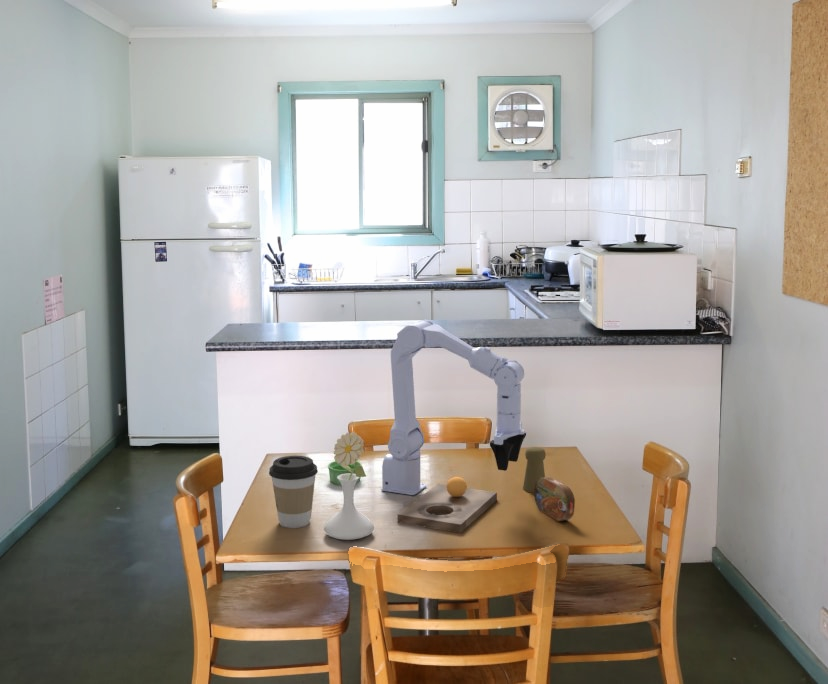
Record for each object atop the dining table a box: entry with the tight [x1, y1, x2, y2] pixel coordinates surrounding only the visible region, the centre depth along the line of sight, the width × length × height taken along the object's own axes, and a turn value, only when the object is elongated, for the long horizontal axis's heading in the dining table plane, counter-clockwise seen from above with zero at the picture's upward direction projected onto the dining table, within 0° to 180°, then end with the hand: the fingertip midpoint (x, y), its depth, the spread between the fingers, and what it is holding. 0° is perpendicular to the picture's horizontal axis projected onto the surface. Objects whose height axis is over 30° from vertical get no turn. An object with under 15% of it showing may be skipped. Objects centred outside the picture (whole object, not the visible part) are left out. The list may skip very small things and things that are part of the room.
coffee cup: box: [268, 455, 319, 529], centre depth 233 cm, size 11×11×15 cm
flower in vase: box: [323, 431, 375, 541], centre depth 223 cm, size 13×11×25 cm
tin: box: [533, 476, 576, 522], centre depth 238 cm, size 15×3×8 cm, turn 23°
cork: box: [522, 446, 546, 494], centre depth 256 cm, size 6×6×11 cm
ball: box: [446, 476, 468, 497], centre depth 245 cm, size 5×5×5 cm
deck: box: [397, 483, 498, 534], centre depth 241 cm, size 16×24×2 cm, turn 155°
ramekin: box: [327, 460, 363, 486], centre depth 264 cm, size 9×9×4 cm
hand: (507, 465), depth 244 cm, fingers open, 7 cm apart
